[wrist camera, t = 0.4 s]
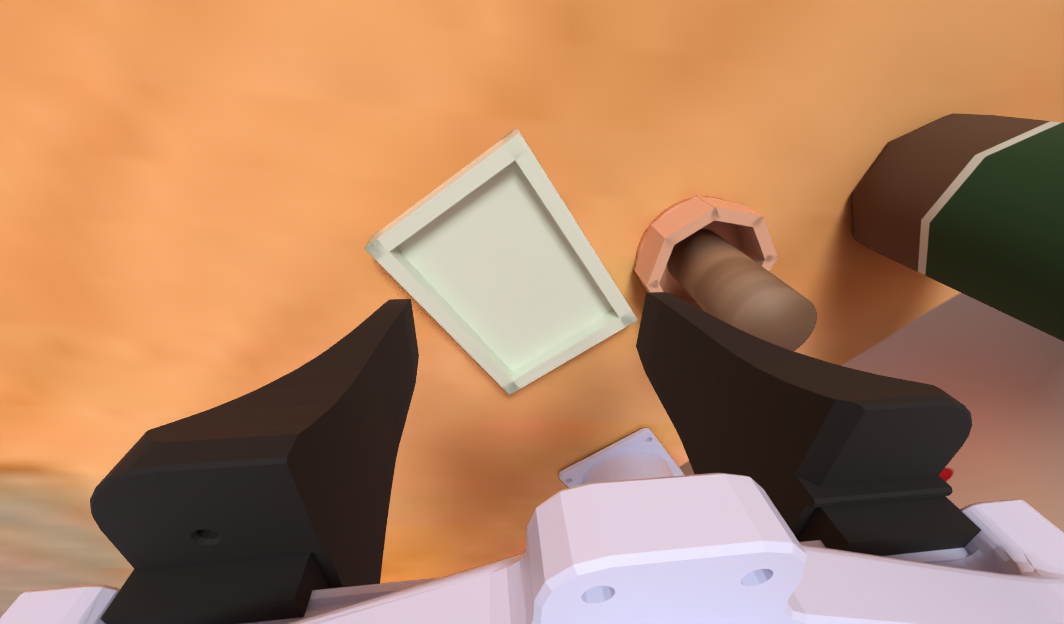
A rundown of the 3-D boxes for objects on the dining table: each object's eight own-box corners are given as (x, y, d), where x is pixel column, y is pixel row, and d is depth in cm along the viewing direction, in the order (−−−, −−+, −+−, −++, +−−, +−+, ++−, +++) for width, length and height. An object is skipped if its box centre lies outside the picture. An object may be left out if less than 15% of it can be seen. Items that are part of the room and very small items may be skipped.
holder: (759, 263, 24) (786, 282, 22) (662, 319, 26) (679, 342, 24) (724, 171, 21) (752, 183, 19) (616, 240, 23) (630, 259, 20)
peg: (730, 261, 23) (824, 336, 17) (679, 291, 24) (751, 373, 18) (711, 217, 22) (806, 280, 16) (657, 250, 23) (728, 324, 16)
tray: (629, 305, 25) (638, 320, 23) (507, 378, 27) (509, 395, 25) (516, 128, 19) (519, 132, 18) (372, 236, 21) (364, 248, 20)
